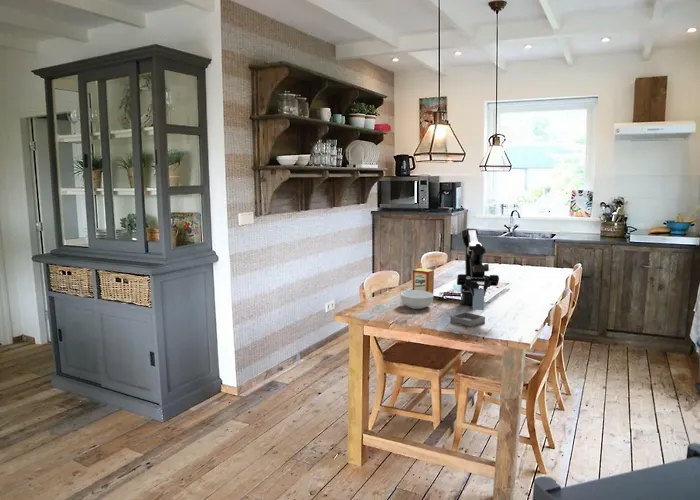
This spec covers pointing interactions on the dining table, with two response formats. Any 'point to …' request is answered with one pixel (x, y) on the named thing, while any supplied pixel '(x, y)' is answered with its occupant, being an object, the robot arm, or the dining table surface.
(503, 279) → the dining table surface
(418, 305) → the cereal bowl
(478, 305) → the slate block
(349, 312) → the dining table surface
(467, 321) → the tray
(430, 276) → the baking soda box
